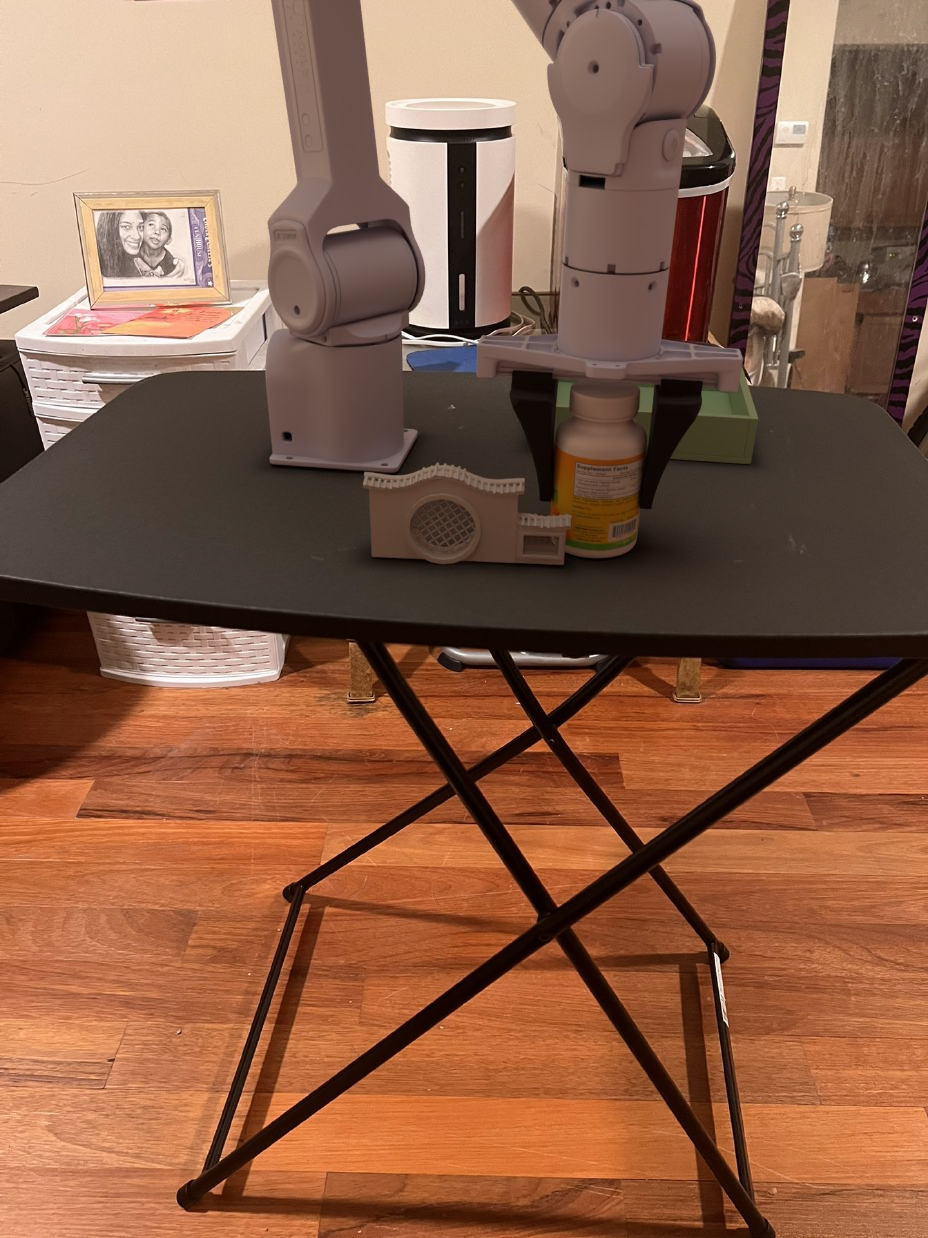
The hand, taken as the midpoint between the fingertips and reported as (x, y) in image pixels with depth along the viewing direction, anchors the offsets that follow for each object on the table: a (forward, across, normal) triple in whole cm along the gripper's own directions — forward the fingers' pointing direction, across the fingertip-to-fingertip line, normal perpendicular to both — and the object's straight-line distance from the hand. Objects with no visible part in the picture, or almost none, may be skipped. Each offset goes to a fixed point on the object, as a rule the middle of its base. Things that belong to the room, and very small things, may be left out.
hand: (594, 498), depth 59 cm
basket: (+3, +3, +23) cm, 23 cm away
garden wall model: (+3, -7, -4) cm, 9 cm away
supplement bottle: (+3, 0, 0) cm, 3 cm away
